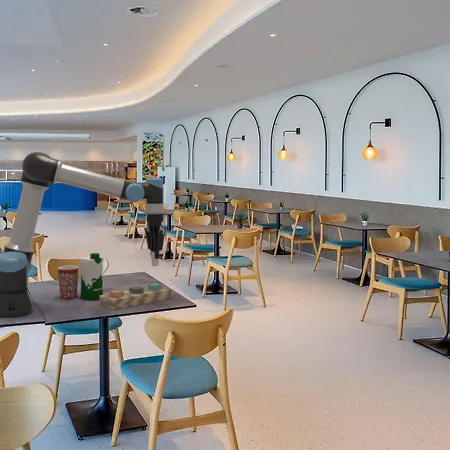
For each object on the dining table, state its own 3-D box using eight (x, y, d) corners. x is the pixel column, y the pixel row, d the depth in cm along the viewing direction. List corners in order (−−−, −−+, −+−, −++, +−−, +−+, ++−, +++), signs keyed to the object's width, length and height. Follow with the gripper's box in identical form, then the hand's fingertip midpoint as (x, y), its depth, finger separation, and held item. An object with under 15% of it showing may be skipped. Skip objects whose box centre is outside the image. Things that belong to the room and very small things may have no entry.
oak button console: (114, 309, 226) (114, 300, 226) (99, 304, 234) (99, 295, 233) (171, 298, 247) (171, 289, 247) (156, 293, 255) (156, 285, 254)
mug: (72, 300, 241) (72, 269, 239) (54, 298, 243) (53, 268, 241) (86, 293, 253) (86, 264, 252) (68, 292, 255) (68, 263, 254)
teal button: (153, 292, 244) (153, 286, 244) (147, 291, 247) (147, 284, 247) (161, 291, 247) (161, 284, 247) (155, 289, 250) (155, 283, 250)
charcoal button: (135, 296, 237) (135, 289, 237) (129, 294, 240) (129, 287, 240) (143, 294, 240) (143, 287, 240) (137, 293, 243) (137, 286, 243)
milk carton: (92, 301, 240) (92, 255, 237) (76, 298, 244) (76, 253, 242) (106, 297, 247) (105, 252, 245) (90, 294, 252) (90, 251, 249)
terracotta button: (115, 300, 230) (115, 292, 230) (109, 298, 233) (109, 291, 233) (124, 298, 233) (124, 291, 233) (118, 296, 236) (118, 289, 236)
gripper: (170, 213, 241) (171, 266, 244) (152, 211, 251) (152, 263, 253) (157, 214, 236) (157, 269, 239) (139, 212, 245) (139, 265, 248)
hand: (155, 265), depth 246 cm, fingers closed
